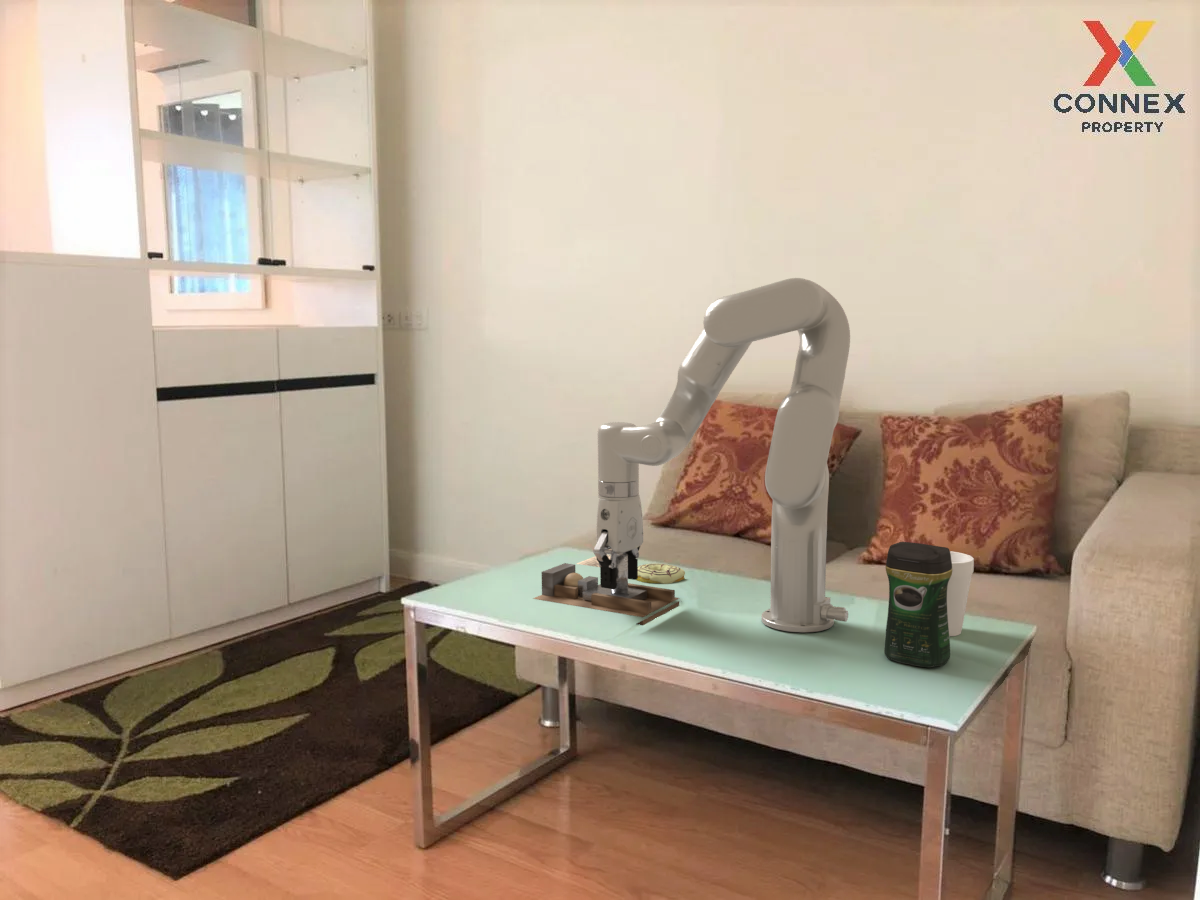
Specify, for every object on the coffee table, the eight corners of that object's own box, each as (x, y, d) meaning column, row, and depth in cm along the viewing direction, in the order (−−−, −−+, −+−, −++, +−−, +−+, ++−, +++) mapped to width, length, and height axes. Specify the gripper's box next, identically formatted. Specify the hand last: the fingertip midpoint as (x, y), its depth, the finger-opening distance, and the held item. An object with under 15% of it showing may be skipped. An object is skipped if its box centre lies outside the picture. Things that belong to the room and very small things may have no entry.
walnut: (588, 592, 190) (588, 571, 189) (577, 597, 186) (576, 576, 186) (571, 589, 192) (571, 569, 191) (559, 594, 188) (559, 573, 188)
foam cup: (901, 626, 171) (903, 553, 169) (944, 619, 174) (946, 548, 173) (938, 642, 162) (941, 565, 161) (983, 635, 165) (985, 560, 164)
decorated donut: (674, 594, 194) (674, 575, 193) (624, 588, 198) (624, 570, 198) (691, 581, 203) (691, 563, 203) (643, 576, 208) (643, 559, 207)
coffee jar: (956, 659, 154) (960, 543, 151) (936, 673, 148) (940, 553, 145) (897, 646, 160) (901, 535, 158) (876, 659, 154) (879, 544, 152)
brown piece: (679, 605, 185) (679, 574, 184) (643, 625, 173) (642, 592, 172) (573, 589, 197) (573, 560, 197) (532, 606, 186) (532, 575, 185)
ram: (647, 597, 184) (646, 553, 183) (628, 606, 179) (628, 561, 177) (593, 589, 191) (592, 546, 189) (574, 597, 185) (573, 553, 184)
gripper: (611, 498, 172) (612, 597, 174) (658, 484, 186) (659, 575, 188) (575, 494, 176) (577, 591, 178) (624, 481, 190) (625, 570, 192)
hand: (619, 582), depth 183 cm, fingers open, 7 cm apart
